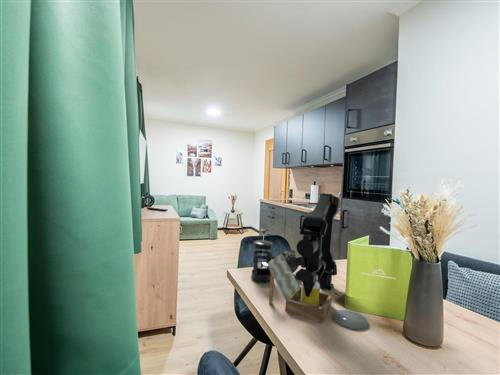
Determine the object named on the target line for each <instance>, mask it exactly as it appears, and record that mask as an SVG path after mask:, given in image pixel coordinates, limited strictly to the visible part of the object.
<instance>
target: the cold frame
mask: <svg viewBox="0 0 500 375" xmlns="http://www.w3.org/2000/svg"><path fill="white" fill-rule="evenodd" d="M267 265H268V267H269V269H270V271H271V277H270V282H269V283H270V284H269V296H268V297H269V298H268V304H269V305H272V304H273V300H274V288H275V287H274V286H275V285H274V284H275V283H276V285H277V287H278V289H279V291H280V292H281V294H282V296H283V299H284V300H285V307H284V308H285V309H284V311H285V312H287V313H290V314H293V315H296V316H300V317H303V318H306V319H310V320H312V321H315V322H318V323H322V324H323V323H324V321H325V320H326V317H327V315H328V313H329V311H330V309H331V307H332V304H333V295H332V294H329V293H326V292H321V291H320V292H319V305H320V304H321V305H322V306H321V308H320V307H318V308H317V307H314V306H310V305H307V304H303V303H301V301H300V302H299V301H298V300H299V299H301V286H300V285H299V283H298V280H297V279H295V277H294V275H293V274H294V273H292V271H291V269H290V268H289V266H288V264H287V262H286V260H285V258H284V256H283V254H282V253H280V254H279V255H278V256H275V258H274V259H273V260H272V259H271V261H269V262H268V263H267Z"/></svg>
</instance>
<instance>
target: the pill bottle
mask: <svg viewBox="0 0 500 375" xmlns="http://www.w3.org/2000/svg"><path fill="white" fill-rule="evenodd" d="M316 279H317V280H318V275H316ZM300 287H301V298H300V303H303V304H307V305H310V306H314V307H317V308H320V304H319V292H321V288H320V284H319V283H318V282H317V281H316V283H315V285H314V287H313V289H312V292H311V294H310V296H309V297H307V296H306V295H305V290H304V286H303V282H302V281H301V286H300Z"/></svg>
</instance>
